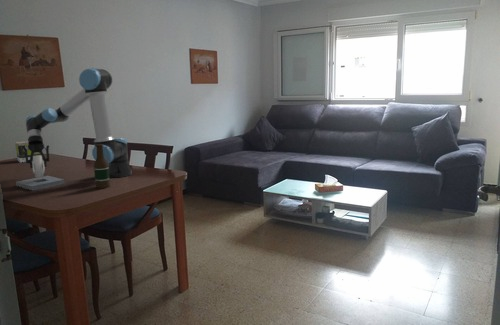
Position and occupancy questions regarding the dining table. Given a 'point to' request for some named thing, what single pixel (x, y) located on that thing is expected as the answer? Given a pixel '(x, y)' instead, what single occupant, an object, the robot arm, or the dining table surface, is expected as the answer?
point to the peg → (38, 166)
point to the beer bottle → (101, 169)
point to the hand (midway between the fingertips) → (39, 171)
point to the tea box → (21, 153)
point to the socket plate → (40, 183)
